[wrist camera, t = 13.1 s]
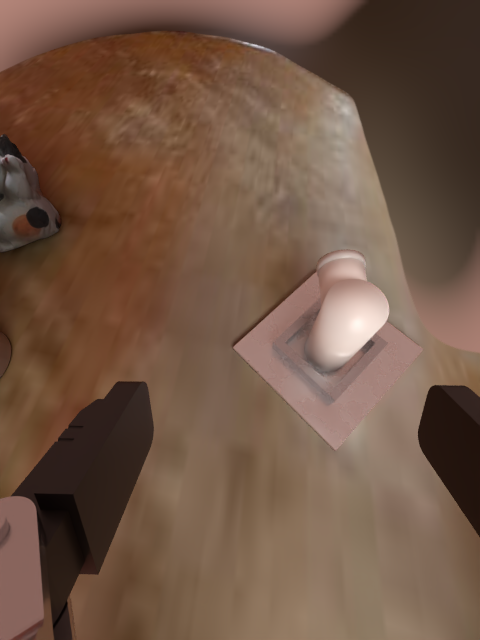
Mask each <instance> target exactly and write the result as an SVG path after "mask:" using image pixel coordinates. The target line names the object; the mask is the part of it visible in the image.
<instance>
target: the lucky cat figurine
mask: <svg viewBox="0 0 480 640" xmlns="http://www.w3.org/2000/svg"><path fill="white" fill-rule="evenodd" d="M60 225H61V218H60V216H59V213H58V211H57V210H56V209H55V208H54V206H53V205H52V204H51V203H50V201H48V200H47V199H46V198H45V197H44V196H43V194H42V192H41V190H40V187H39V180H38V174H37V172H36V170H35V168H34V167H32V166H31V164H30V163H29V161H28V160H27V159H26V158H25V157H24V156H22V155H21V153H20V152H19V150H18V148H17V147H16V145H15V144H13V143H12V142H10V140H9V138H8V137H7V136H6V134H3V135H2V136H1V137H0V252H6V251H10V250H13V249H16V248H18V247H21V246H24V245H26V244H29V243H31V242H34V241H36V240H39V239H44V238H47V237H49V236H51V235H53V234H54V233H56V232H58V231H59V228H60Z"/></svg>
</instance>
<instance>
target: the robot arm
mask: <svg viewBox="0 0 480 640" xmlns="http://www.w3.org/2000/svg"><path fill="white" fill-rule="evenodd" d="M10 357H11V345H10V342H9V340H8V338H7V337H6V336H5V335H4V334H3V333H2V332H0V377H1V376H2V375H3V373H4V372H5V370H6V368H7V366H8V364H9V361H10ZM153 431H154V426H153V418H152V412H151V405H150V398H149V392H148V387H147V384H146V383H145V382H120V381H119V382H117V383H116V384H115V385H114V386H113V388H112V389H111V390H110V392H109V393H108V394H107V396H106V397H105V398H104V399H97V400H95V401H94V402H93V403H91V404H90V405H88V406H87V407H85V408H84V409H83V410H81V411H80V412H79V413H78V415H77V416H76V417H75V418H74V419H73V421H72V422H71V423H70V424H69V427H68V429H65V431H64V432H63V433H62V434H61V435H60V437H59V438H58V442H55V443H54V444H53V445H52V447H51V448H50V449H49V450H48V451H47V453H46V454H45V455H44V456H43V458H42V459H41V460H40V461H39V463H38V464H37V465H36V466H35V467H34V469H33V470H32V471H31V472H30V474H29V475H28V476H27V477H26V478H25V480H24V481H23V482H22V483H21V485H20V486H19V487H18V488H17V490H16V491H15V492H14V493H13V494H12V496H11V497H6V498H2V499H0V640H77V639H76V632H75V625H74V618H73V611H72V604H71V599H70V592H71V590H72V588H73V586H74V584H75V582H76V579H77V577H78V575H79V574H95V575H98V574H99V571H100V569H101V566H102V564H103V562H104V559H105V557H106V554H107V552H108V549H109V547H110V545H111V542H112V540H113V537H114V535H115V532H116V530H117V527H118V525H119V523H120V520H121V518H122V515H123V513H124V510H125V508H126V506H127V503H128V501H129V498H130V496H131V493H132V491H133V489H134V486H135V484H136V481H137V479H138V476H139V474H140V472H141V469H142V467H143V464H144V462H145V459H146V457H147V455H148V452H149V450H150V447H151V444H152V440H153ZM418 440H419V444H420V447H421V450H422V452H423V453H424V455H425V457H426V458H427V460H428V461H429V462H430V464H431V465H432V467H433V468H434V470H435V471H436V473H437V474H438V476H439V477H440V479H441V480H442V482H443V483H444V485H445V486H446V488H447V489H448V491H449V492H450V494H451V495H452V497H453V498H454V500H455V501H456V502H457V504H458V505H459V507H460V508H461V510H462V511H463V513H464V514H465V516H466V517H467V519H468V520H469V522H470V523H471V525H472V526H473V528H474V529H475V531H476V532H477V534H478V535H479V537H480V397H479V396H477V395H476V394H475V393H474V392H473V391H472V390H471V389H469V388H468V387H466V386H446V385H434V386H432V387H431V388H430V389H429V391H428V394H427V398H426V402H425V406H424V409H423V413H422V417H421V421H420V425H419V429H418Z"/></svg>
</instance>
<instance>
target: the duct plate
mask: <svg viewBox="0 0 480 640" xmlns="http://www.w3.org/2000/svg"><path fill="white" fill-rule="evenodd" d="M320 309H321V298H320V286H319V277H318V276H317V271H316V272H315V273H314V274H313V275H312V276H311V277H310V278H309V279H308V280H306V281H305V282H304V283H303V284H302V285H301V286H300V287H299V288H298V289H297V290H295V291H294V292H293V293H292V294H291V295H290V296H289V297H288V298H287V299H286V300H284V301H283V302H282V303H281V304H280V305H279V306H278V307H277V308H276V309H275V310H273V311H272V312H271V313H270V314H269V315H268V316H267V317H266V318H265V319H264V320H262V321H261V322H260V323H259V324H258V325H257V326H256V327H255V328H254V329H253V330H251V331H250V332H249V333H248V334H247V335H246V336H245V337H244V338H243V339H242V340H240V341H239V342H238V343H237V344H236V345H235V346H234V347H233V350H234V351H235V352H236V353H237V354H238V355H239V356H240V357H241V358H242V359H243V360H244V361H245V362H246V363H247V364H248V365H249V366H250V367H251V368H252V369H253V370H254V371H255V372H256V373H257V374H258V375H259V376H260V377H261V378H262V379H263V380H264V381H265V382H266V383H267V384H268V385H269V386H270V387H271V388H272V389H273V390H274V391H275V392H276V393H277V394H278V395H279V396H280V397H281V398H282V399H283V400H284V401H285V402H286V403H287V404H288V405H289V406H290V407H291V408H292V409H293V410H294V411H295V412H296V413H297V414H298V415H299V416H300V417H301V418H302V419H303V420H304V421H305V422H306V423H307V424H308V425H309V426H310V427H311V428H312V429H313V430H314V431H315V432H316V433H317V434H318V435H319V436H320V437H321V438H322V439H323V440H324V441H325V442H326V443H327V444H328V445H329V446H330V447H331V448H332V449H333V450H334V451H336V450H337V449H338V447H339V446H340V445H341V444H342V443H343V442H344V441H345V439H346V438H347V437H348V436H349V435H350V434H351V432H352V431H353V430H354V429H355V428H356V427H357V426H358V424H359V423H360V422H361V421H362V420H363V419H364V417H365V416H366V415H367V414H368V413H369V412H370V410H371V409H372V408H373V407H374V406H375V405H376V404H377V402H378V401H379V400H380V399H381V398H382V397H383V395H384V394H385V393H386V392H387V391H388V390H389V389H390V387H391V386H392V385H393V384H394V383H395V382H396V380H397V379H398V378H399V377H400V376H401V375H402V374H403V372H404V371H405V370H406V369H407V368H408V367H409V365H410V364H411V363H412V362H413V361H414V360H415V358H416V357H417V356H418V355H419V354H420V353H421V352H422V350H423V349H422V348H421V347H420V346H418V345H417V344H416V343H415V342H413V341H412V340H411V339H409V338H408V337H407V336H405V335H404V334H403V333H402V332H400V331H399V330H398V329H396V328H395V327H394V326H392V325H391V324H390V323H388V322H387V321H386V322H385V324H384V325H383V326H382V327H381V328H380V329H379V330H378V331H377V332H376V333H375V334H374V335H373V336H372V337H371V338H370V339H369V340H368V341H367V342H366V344H365V345H364V346H363V347H362V348H361V349H360V350H359V351H358V352H357V353H356V354H355V355H354V356H353V357H352V358H351V359H350V360H349V361H348V362H347V363H346V364H345V365H344V366H343V367H342V368H340V369H339V370H336V371H332V372H327V371H322V370H319V369H317V368H316V367H314V366H313V365H312V364H311V363H310V362H309V361H308V359H307V357H306V354H305V344H306V341H307V339H308V337H309V334H310V332H311V330H312V328H313V325H314V323H315V321H316V318H317V316H318V314H319V311H320Z"/></svg>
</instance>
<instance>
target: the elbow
mask: <svg viewBox="0 0 480 640" xmlns="http://www.w3.org/2000/svg"><path fill="white" fill-rule="evenodd" d="M365 269H366V262H365V257H364V255H363V254H362V253H360V252H358V251H355V250H338V251H334V252H331V253H328V254H326V255H324V256H323V257H322V258H320V259H319V261H318V262H317V265H316V270H317V276H318V277H319V286H320V298H321V309H320V311H319V314H318V316H317V318H316V321H315V323H314V325H313V328H312V330H311V332H310V334H309V337H308V339H307V341H306V344H305V354H306V357H307V359H308V361H309V362H310V363H311V364H312V365H313V366H314V367H316V368H317V369H319V370H322V371H327V372H332V371H336V370H339V369H340V368H342V367H343V366H344V365H345V364H346V363H347V362H348V361H349V360H350V359H351V358H352V357H353V356H354V355H355V354H356V353H357V352H358V351H359V350H360V349H361V348H362V347H363V346H364V345H365V344H366V342H367V341H368V340H369V339H370V338H371V337H372V336H373V335H374V334H375V333H376V332H377V331H378V330H379V329H380V328H381V327H382V326H383V325H384V324H385V322H386V321H387V318H388V315H389V304H388V301H387V299H386V297H385V295H384V294H383V292H382V291H381V290H380V289H379V288H378V287H376V286H375V285H373V284H372V283H370V282H367V278H366V272H365Z"/></svg>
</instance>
